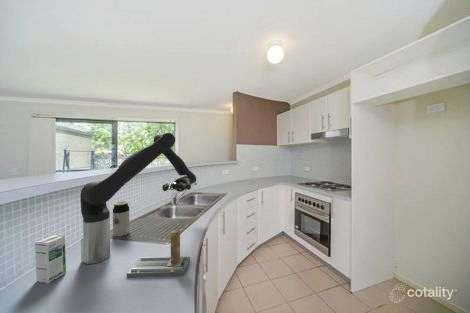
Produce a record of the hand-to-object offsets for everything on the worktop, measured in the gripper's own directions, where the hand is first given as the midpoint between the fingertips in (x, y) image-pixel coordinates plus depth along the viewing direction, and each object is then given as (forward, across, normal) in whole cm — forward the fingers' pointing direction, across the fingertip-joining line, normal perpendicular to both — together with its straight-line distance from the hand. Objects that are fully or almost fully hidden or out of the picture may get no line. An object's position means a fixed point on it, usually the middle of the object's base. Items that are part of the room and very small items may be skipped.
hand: (173, 189), depth 89 cm
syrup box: (+22, -38, +28) cm, 52 cm away
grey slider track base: (+18, 0, +28) cm, 33 cm away
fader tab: (+18, +6, +26) cm, 32 cm away
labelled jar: (-14, -34, +28) cm, 46 cm away
